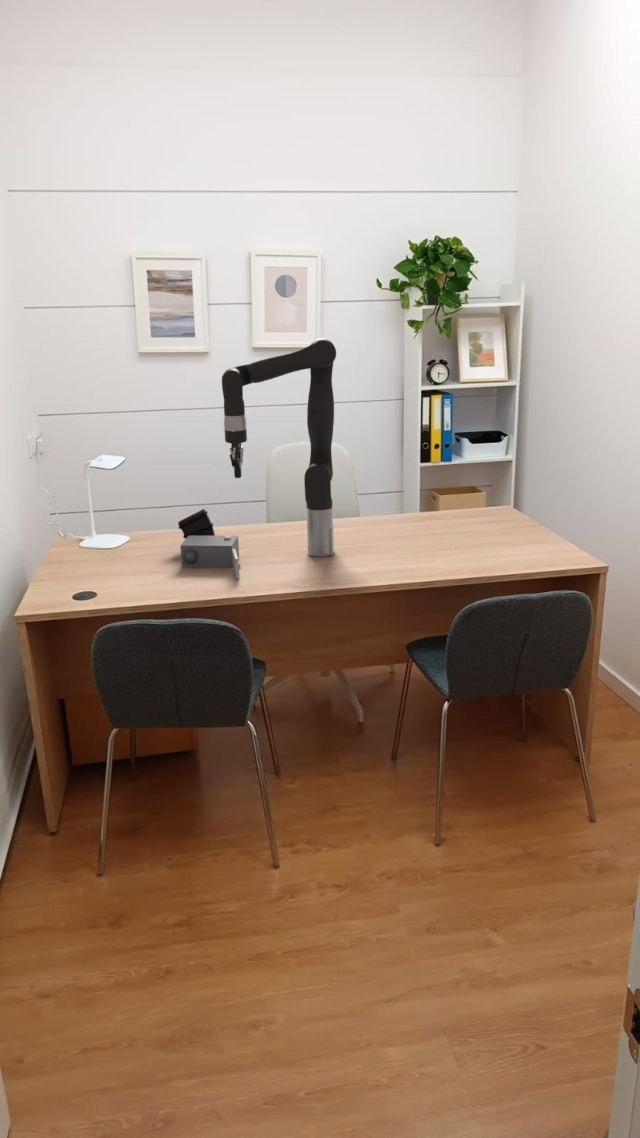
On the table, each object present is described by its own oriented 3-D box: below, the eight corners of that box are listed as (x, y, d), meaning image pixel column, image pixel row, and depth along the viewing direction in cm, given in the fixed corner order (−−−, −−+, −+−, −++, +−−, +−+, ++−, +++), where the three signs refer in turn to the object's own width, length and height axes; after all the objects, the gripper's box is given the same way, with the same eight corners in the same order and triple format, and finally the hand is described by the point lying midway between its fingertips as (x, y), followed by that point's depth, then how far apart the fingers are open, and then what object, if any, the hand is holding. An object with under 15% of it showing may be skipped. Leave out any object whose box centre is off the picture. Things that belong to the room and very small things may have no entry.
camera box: (239, 556, 308) (237, 533, 305) (232, 569, 295) (230, 544, 292) (190, 556, 309) (188, 533, 306) (180, 568, 297) (179, 544, 294)
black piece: (224, 545, 316) (204, 510, 311) (193, 561, 317) (172, 526, 312) (224, 542, 319) (205, 507, 315) (193, 558, 321) (173, 524, 316)
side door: (232, 567, 296) (231, 548, 293) (237, 567, 296) (236, 547, 294) (236, 578, 284) (235, 558, 282) (241, 578, 285) (240, 558, 282)
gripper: (228, 424, 300) (231, 473, 306) (220, 431, 288) (223, 481, 293) (249, 424, 299) (251, 473, 305) (242, 431, 287) (245, 481, 292)
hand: (238, 477), depth 299 cm, fingers closed
